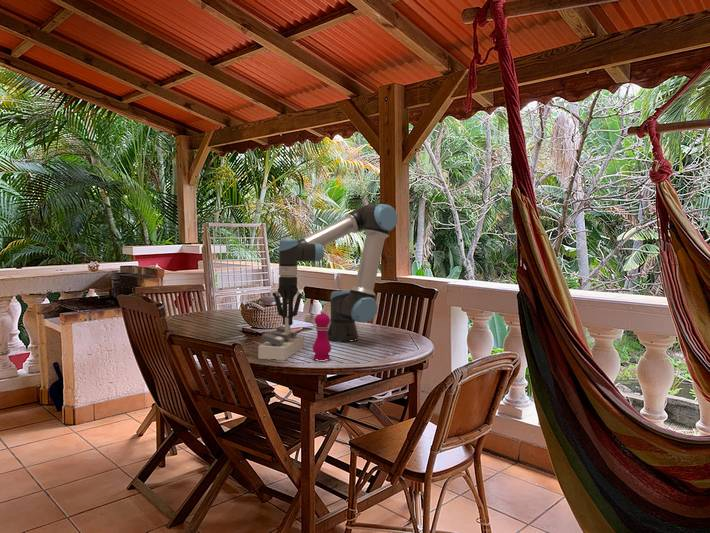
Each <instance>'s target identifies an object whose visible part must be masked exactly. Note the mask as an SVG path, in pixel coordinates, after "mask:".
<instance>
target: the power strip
mask: <svg viewBox="0 0 710 533" xmlns="http://www.w3.org/2000/svg"><path fill="white" fill-rule="evenodd" d="M257 346H258V351H257V352H258V356H257V357H258V359H262V360H271V359H276V360H277V361H284V360H285V359H286V360H287V358H288V357H289V356H291V355H292V354H293V355H295V354H296V353H298V352H300V351H301V350H303V349H304V348H303V347H305V336H304V335H297V336H295V337H294V338H290V339H288V340H284V343H283V344H282V345H280V346H278V345H275V344H272V343H269V342H267V341H265V342H263V343H262V344H259V345H257ZM300 349H301V350H300ZM297 351H298V352H297ZM294 353H295V354H294ZM293 355H292V356H293ZM292 356H291V357H292ZM289 358H290V357H289ZM289 358H288V359H289ZM276 360H275V361H276ZM286 360H285V361H286Z"/></svg>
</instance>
